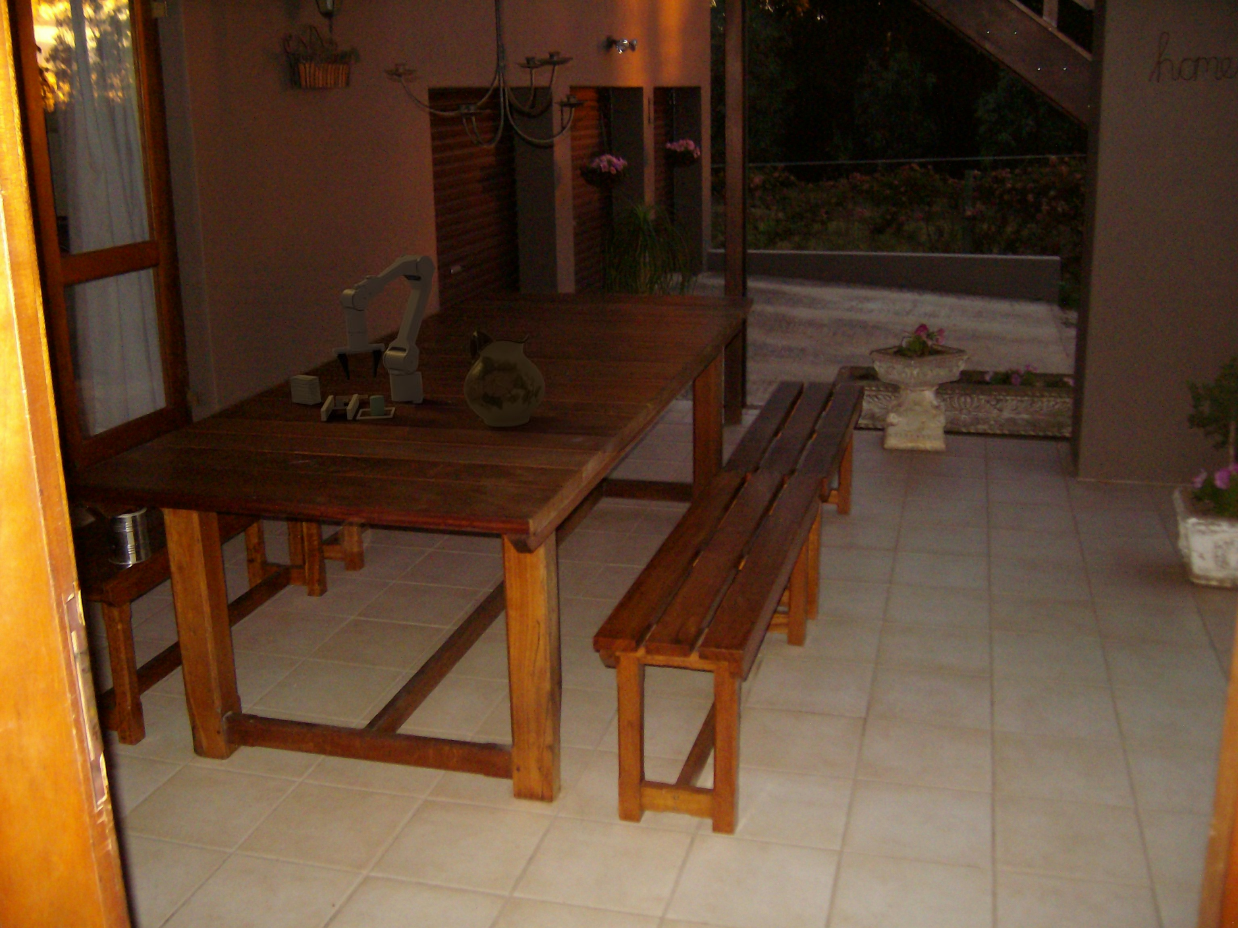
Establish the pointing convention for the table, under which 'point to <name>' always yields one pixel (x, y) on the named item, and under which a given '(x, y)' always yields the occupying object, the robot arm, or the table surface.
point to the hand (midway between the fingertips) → (361, 377)
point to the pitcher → (502, 381)
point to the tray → (375, 416)
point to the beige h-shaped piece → (330, 403)
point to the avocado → (377, 405)
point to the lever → (342, 399)
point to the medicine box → (305, 389)
